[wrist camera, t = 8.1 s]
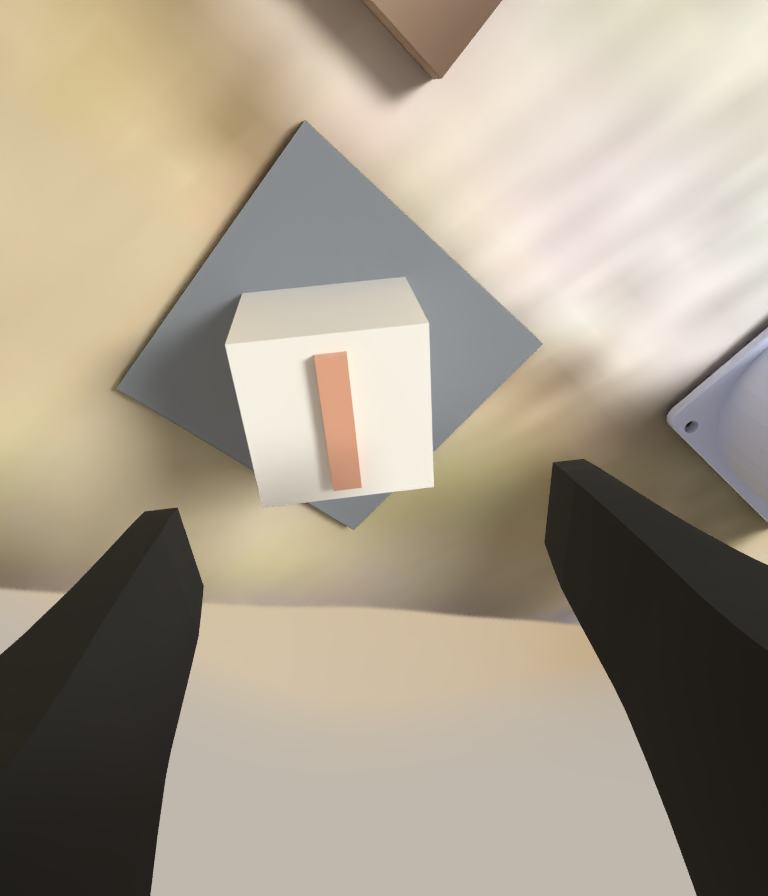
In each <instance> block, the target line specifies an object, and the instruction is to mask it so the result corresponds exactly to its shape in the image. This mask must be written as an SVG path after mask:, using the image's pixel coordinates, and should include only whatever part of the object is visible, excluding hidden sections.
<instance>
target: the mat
mask: <svg viewBox="0 0 768 896" xmlns="http://www.w3.org/2000/svg"><path fill="white" fill-rule="evenodd" d="M398 277H406V279H407V281H408V283H409V285H410V287H411V289H412V291H413V293H414V295H415V297H416V299H417V301H418V302H419V304H420V306H421V308H422V310H423V312H424V314H425V316H426V318H427V320H428V322H429V337H430V371H431V405H432V440H433V452H434V451H435V450H436V449H437V448H438V447H439V446H440V445H441V444H442V443H443V442H444V441H445V440H446V439H447V438H448V437H449V436H450V435H451V434H452V433H453V432H454V431H455V430H456V429H457V428H458V427H459V426H460V425H461V424H462V423H463V422H464V421H465V420H466V419H467V418H468V417H469V416H470V415H471V414H472V413H473V412H474V411H475V410H476V409H477V408H478V407H479V406H480V405H481V404H482V403H483V402H484V401H485V400H487V399H488V398H489V397H490V396H491V395H492V394H493V393H494V392H495V391H496V390H497V389H498V388H499V387H500V386H501V385H502V384H503V383H504V382H505V381H506V380H507V379H508V378H509V377H510V376H511V375H512V374H513V373H514V372H515V371H516V370H517V369H518V368H519V367H520V366H521V365H522V364H523V363H524V362H525V361H526V360H527V359H528V358H529V357H530V356H531V355H532V354H533V353H534V352H535V351H536V350H537V349H538V348H539V347H540V346H541V345H542V343H541V342H540V341H539V340H538V339H537V338H536V337H535V336H534V335H533V334H532V333H531V332H530V331H529V330H528V329H527V328H526V327H525V326H524V325H522V324H521V323H520V322H519V321H518V320H517V319H516V318H515V317H514V316H513V315H512V314H511V313H510V312H509V311H508V310H507V309H505V308H504V307H503V306H502V305H501V304H500V303H499V302H498V301H497V300H496V299H495V298H494V297H493V296H492V295H491V294H489V293H488V292H487V291H486V290H485V289H484V288H483V287H482V286H481V285H480V284H479V283H478V282H477V281H476V280H475V279H474V278H472V277H471V276H470V275H469V274H468V273H467V272H466V271H465V270H464V269H463V268H462V267H461V266H460V265H459V264H458V263H457V262H455V261H454V260H453V259H452V258H451V257H450V256H449V255H448V254H447V253H446V252H445V251H444V250H443V249H442V248H441V247H440V246H438V245H437V244H436V243H435V242H434V241H433V240H432V239H431V238H430V237H429V236H428V235H427V234H426V233H425V232H424V231H423V230H421V229H420V228H419V227H418V226H417V225H416V224H415V223H414V222H413V221H412V220H411V219H410V218H409V217H408V216H407V215H405V214H404V213H403V212H402V211H401V210H400V209H399V208H398V207H397V206H396V205H395V204H394V203H393V202H392V201H391V200H390V199H388V198H387V197H386V196H385V195H384V194H383V193H382V192H381V191H380V190H379V189H378V188H377V187H376V186H375V185H374V184H373V183H371V182H370V181H369V180H368V179H367V178H366V177H365V176H364V175H363V174H362V173H361V172H360V171H359V170H358V169H357V168H356V167H354V166H353V165H352V164H351V163H350V162H349V161H348V160H347V159H346V158H345V157H344V156H343V155H342V154H341V153H340V152H339V151H337V150H336V149H335V148H334V147H333V146H332V145H331V144H330V143H329V142H328V141H327V140H326V139H325V138H324V137H323V136H321V135H320V134H319V133H318V132H317V131H316V130H315V129H314V128H313V127H312V126H311V125H310V124H309V123H308V122H307V121H306V120H304V122H303V123H302V125H301V126H300V128H299V129H298V130H297V132H296V133H295V135H294V136H293V137H292V139H291V140H290V142H289V143H288V145H287V146H286V147H285V149H284V150H283V152H282V153H281V155H280V156H279V157H278V159H277V160H276V162H275V163H274V164H273V166H272V167H271V169H270V170H269V172H268V173H267V174H266V176H265V177H264V179H263V180H262V182H261V183H260V184H259V186H258V187H257V189H256V190H255V192H254V193H253V194H252V196H251V197H250V199H249V200H248V201H247V203H246V204H245V206H244V207H243V209H242V210H241V211H240V213H239V214H238V216H237V217H236V219H235V220H234V221H233V223H232V224H231V226H230V227H229V228H228V230H227V231H226V233H225V234H224V236H223V237H222V238H221V240H220V241H219V243H218V244H217V246H216V247H215V248H214V250H213V251H212V253H211V254H210V256H209V257H208V258H207V260H206V261H205V263H204V264H203V265H202V267H201V268H200V270H199V271H198V273H197V274H196V275H195V277H194V278H193V280H192V281H191V283H190V284H189V285H188V287H187V288H186V290H185V291H184V292H183V294H182V295H181V297H180V298H179V300H178V301H177V302H176V304H175V305H174V307H173V308H172V310H171V311H170V312H169V314H168V315H167V317H166V318H165V320H164V321H163V322H162V324H161V325H160V327H159V328H158V329H157V331H156V332H155V334H154V335H153V337H152V338H151V339H150V341H149V342H148V344H147V345H146V347H145V348H144V349H143V351H142V352H141V354H140V355H139V356H138V358H137V359H136V361H135V362H134V364H133V365H132V366H131V368H130V369H129V371H128V372H127V374H126V375H125V376H124V378H123V379H122V381H121V382H120V384H119V385H118V387H117V388H116V389H118V390H120V391H121V392H123V393H125V394H126V395H128V396H130V397H131V398H133V399H135V400H136V401H138V402H140V403H141V404H143V405H145V406H147V407H148V408H150V409H152V410H153V411H155V412H157V413H158V414H160V415H162V416H163V417H165V418H167V419H168V420H170V421H172V422H173V423H175V424H177V425H178V426H180V427H182V428H183V429H185V430H187V431H188V432H190V433H192V434H193V435H195V436H197V437H198V438H200V439H202V440H204V441H205V442H207V443H209V444H210V445H212V446H214V447H215V448H217V449H219V450H220V451H222V452H224V453H225V454H227V455H229V456H230V457H232V458H234V459H235V460H237V461H239V462H240V463H242V464H244V465H245V466H247V467H249V468H250V469H252V470H254V469H253V464H252V460H251V456H250V451H249V447H248V443H247V438H246V434H245V430H244V425H243V421H242V417H241V412H240V408H239V404H238V399H237V395H236V391H235V386H234V382H233V378H232V373H231V369H230V365H229V360H228V356H227V352H226V347H225V343H226V340H227V337H228V334H229V331H230V328H231V325H232V322H233V319H234V316H235V313H236V310H237V307H238V304H239V301H240V298H241V296H242V293H250V292H260V291H270V290H280V289H290V288H299V287H309V286H319V285H329V284H339V283H349V282H359V281H369V280H378V279H388V278H398ZM391 493H392V492H388V493H380V494H372V495H363V496H355V497H347V498H339V499H331V500H323V501H314V502H307V503H309V504H311V505H312V506H314V507H316V508H318V509H319V510H321V511H323V512H324V513H326V514H328V515H329V516H331V517H333V518H334V519H336V520H338V521H339V522H341V523H343V524H344V525H346V526H348V527H349V528H351V529H353V530H354V529H355V528H356V527H357V526H359V525H360V524H361V523H362V522H363V521H364V520H365V519H366V518H367V517H368V516H369V515H370V514H371V513H372V512H373V511H374V510H375V509H376V508H377V507H378V506H379V505H380V504H381V503H382V502H383V501H384V500H385V499H386V498H387V497H388V496H389V495H390V494H391Z"/></svg>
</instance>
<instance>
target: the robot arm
mask: <svg viewBox="0 0 768 896" xmlns="http://www.w3.org/2000/svg"><path fill="white" fill-rule="evenodd" d="M691 421H692V423H691V424H690V425H689V426H688V427H686V428H685V426H686V425H687V423H689V422H691ZM667 423H668V424H669V425H670V426H671V427H672V428H673V429H674V430H675V431H676V432H677V433H678V434H679V435H680V436H681V437H682V438H683V439H684V440H685V441H686V442H687V443H688V444H689V445H690V446H691V447H692V448H693V449H694V450H695V451H696V452H697V453H698V454H699V455H700V456H701V457H702V458H703V459H704V460H705V461H706V462H707V463H708V464H709V465H710V466H711V467H712V468H713V469H714V470H715V471H716V472H717V473H718V474H719V475H720V476H721V477H722V478H723V479H724V480H725V481H726V482H727V483H728V484H729V485H730V486H731V487H732V488H733V489H734V490H735V491H736V492H737V493H738V494H739V495H740V496H741V497H742V498H743V499H744V500H745V501H746V502H747V503H748V504H749V505H750V506H751V507H752V508H753V509H754V510H755V511H756V512H757V513H758V514H759V515H760V516H761V517H762V518H763V519H764V520H766V521H767V522H768V327H767V328H766V329H765V330H764V331H763V332H761V333H760V334H759V335H758V336H757V337H756V338H754V339H753V340H752V341H751V342H750V343H749V344H747V345H746V346H745V347H744V348H743V349H741V350H740V351H739V352H738V353H737V354H736V355H734V356H733V357H732V358H731V359H730V360H728V361H727V362H726V363H725V364H724V365H723V366H721V367H720V368H719V369H718V370H717V371H716V372H714V373H713V374H712V375H711V376H710V377H708V378H707V379H706V380H705V381H704V382H703V383H701V384H700V385H699V386H698V387H697V388H696V389H694V390H693V391H692V392H691V393H690V394H688V395H687V396H686V397H685V398H684V399H683V400H681V401H680V402H679V403H678V404H677V405H675V406H674V407H673V408H672V409H671V410H670V411H669V413H668V415H667ZM545 545H546V548H547V551H548V554H549V557H550V559H551V562H552V565H553V568H554V570H555V573H556V576H557V578H558V581H559V583H560V586H561V588H562V590H563V592H564V594H565V596H566V598H567V600H568V602H569V604H570V606H571V608H572V609H573V611H574V613H575V615H576V617H577V619H578V621H579V623H580V625H581V626H582V628H583V630H584V632H585V634H586V636H587V638H588V639H589V641H590V643H591V645H592V647H593V649H594V651H595V652H596V654H597V656H598V658H599V660H600V662H601V664H602V665H603V667H604V669H605V671H606V673H607V675H608V677H609V679H610V680H611V682H612V684H613V686H614V688H615V690H616V692H617V694H618V696H619V698H620V700H621V702H622V704H623V706H624V708H625V711H626V713H627V715H628V718H629V720H630V722H631V725H632V727H633V730H634V732H635V735H636V737H637V739H638V742H639V744H640V747H641V749H642V751H643V754H644V756H645V758H646V761H647V763H648V766H649V769H650V771H651V773H652V776H653V779H654V781H655V784H656V787H657V789H658V791H659V794H660V796H661V799H662V802H663V805H664V807H665V809H666V812H667V815H668V817H669V820H670V823H671V825H672V828H673V831H674V834H675V836H676V839H677V842H678V844H679V847H680V850H681V853H682V856H683V859H684V861H685V864H686V867H687V869H688V872H689V875H690V878H691V880H692V883H693V886H694V889H695V892H696V895H697V896H768V565H766V564H764V563H762V562H760V561H758V560H755V559H753V558H751V557H749V556H747V555H745V554H743V553H741V552H740V551H738V550H736V549H734V548H732V547H730V546H728V545H726V544H724V543H723V542H721V541H719V540H717V539H715V538H713V537H712V536H710V535H708V534H706V533H704V532H702V531H701V530H699V529H697V528H695V527H694V526H692V525H690V524H688V523H687V522H685V521H683V520H682V519H680V518H678V517H677V516H675V515H673V514H672V513H670V512H668V511H667V510H665V509H663V508H662V507H660V506H658V505H657V504H655V503H654V502H652V501H650V500H649V499H647V498H646V497H644V496H642V495H641V494H639V493H638V492H636V491H635V490H633V489H631V488H630V487H628V486H627V485H625V484H624V483H622V482H621V481H619V480H617V479H616V478H614V477H613V476H611V475H610V474H608V473H606V472H605V471H603V470H602V469H600V468H598V467H597V466H595V465H593V464H592V463H590V462H588V461H586V460H585V459H579V460H571V461H562V462H554V463H553V467H552V477H551V486H550V496H549V505H548V515H547V525H546V534H545ZM203 587H204V586H203V583H202V580H201V577H200V574H199V571H198V568H197V565H196V562H195V559H194V556H193V553H192V550H191V547H190V544H189V541H188V538H187V535H186V532H185V529H184V526H183V523H182V520H181V517H180V514H179V511H178V508H171V509H163V510H154V511H146V512H144V513H143V514H142V515H141V516H140V517H139V518H138V519H137V520H136V521H135V522H134V523H133V524H132V525H131V526H130V527H129V528H128V529H127V530H126V531H125V532H124V533H123V535H122V536H121V537H120V538H119V539H118V540H117V541H116V542H115V543H114V544H113V545H112V546H111V547H110V548H109V550H108V551H107V552H106V553H105V554H104V555H103V556H102V557H101V558H100V559H99V560H98V561H97V562H96V563H95V564H94V565H93V566H92V567H91V569H90V570H89V571H88V572H87V573H86V574H85V575H84V576H83V577H82V578H81V579H80V580H79V581H78V582H77V583H76V584H75V585H74V586H73V587H72V588H71V589H70V590H69V591H68V592H67V593H66V594H65V595H64V596H63V597H62V598H61V599H60V600H59V601H58V602H57V603H56V604H55V605H54V606H53V607H52V608H51V609H50V610H49V611H48V612H46V614H44V615H43V616H42V617H41V618H40V619H39V620H38V621H37V622H36V623H35V624H34V625H33V626H32V627H31V628H30V629H29V630H28V631H27V632H26V633H25V634H23V636H21V637H20V638H19V639H18V640H17V641H16V642H15V643H13V644H12V645H11V646H10V647H9V648H8V649H7V650H5V651H4V652H3V653H2V654H1V655H0V896H150V892H151V884H152V877H153V868H154V860H155V852H156V843H157V835H158V827H159V821H160V814H161V807H162V799H163V792H164V785H165V778H166V773H167V768H168V763H169V758H170V753H171V748H172V744H173V740H174V736H175V732H176V728H177V724H178V720H179V715H180V711H181V707H182V703H183V699H184V695H185V690H186V687H187V683H188V678H189V674H190V670H191V666H192V662H193V657H194V653H195V648H196V645H197V640H198V636H199V627H200V618H201V609H202V598H203Z"/></svg>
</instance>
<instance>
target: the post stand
mask: <svg viewBox="0 0 768 896" xmlns="http://www.w3.org/2000/svg"><path fill="white" fill-rule="evenodd" d="M362 1H363V2H364V4H365V5H366V6H367V7H368V8H369V9H370V10H371V11H372V12H373V13H374V15H375V16H376V17H377V18H378V19H379V20H380V21H381V22H382V23H383V25H384V26H385V27H386V28H387V29H388V30H389V31H390V32H391V33H392V34H393V36H394V37H395V38H396V39H397V40H398V41H399V42H400V43H401V44H402V46H403V47H404V48H405V49H406V50H407V51H408V52H409V53H410V54H411V55H412V57H413V58H414V59H415V60H416V61H417V62H418V63H419V64H420V65H421V66H422V68H423V69H424V70H425V71H426V72H427V73H428V74H429V75H430V76H431V78H432V79H440V78H442V77H443V76H444V75H445V73H446V72H447V71H448V70H449V68H450V67H451V66H452V64H453V63H454V62H455V60H456V59H457V58H458V57H459V55H460V54H461V53H462V51H463V50H464V49H465V48H466V46H467V45H468V44H469V42H470V41H471V40H472V38H473V37H474V36H475V35H476V33H477V32H478V31H479V29H480V28H481V27H482V26H483V24H484V23H485V22H486V20H487V19H488V18H489V17H490V15H491V14H492V13H493V11H494V10H495V9H496V7H497V6H498V5H499V4H500V2H501V1H502V0H362Z"/></svg>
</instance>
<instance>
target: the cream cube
mask: <svg viewBox="0 0 768 896" xmlns="http://www.w3.org/2000/svg"><path fill="white" fill-rule="evenodd" d="M225 347H226V352H227V356H228V360H229V365H230V369H231V373H232V378H233V382H234V386H235V391H236V395H237V399H238V404H239V408H240V412H241V417H242V421H243V425H244V430H245V434H246V438H247V443H248V447H249V451H250V456H251V460H252V464H253V469H254V473H255V477H256V482H257V486H258V490H259V495H260V499H261V503H262V508H265V507H273V506H282V505H290V504H298V503H306V502H314V501H323V500H331V499H339V498H347V497H355V496H363V495H372V494H380V493H388V492H396V491H404V490H413V489H421V488H429V487H434V474H433V440H432V405H431V371H430V337H429V322H428V320H427V318H426V316H425V314H424V312H423V310H422V308H421V306H420V304H419V302H418V301H417V299H416V297H415V295H414V293H413V291H412V289H411V287H410V285H409V283H408V281H407V279H406V277H398V278H388V279H378V280H369V281H359V282H349V283H339V284H329V285H319V286H309V287H299V288H290V289H280V290H270V291H260V292H250V293H242V296H241V298H240V301H239V304H238V307H237V310H236V313H235V316H234V319H233V322H232V325H231V328H230V331H229V334H228V337H227V340H226V343H225Z"/></svg>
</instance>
